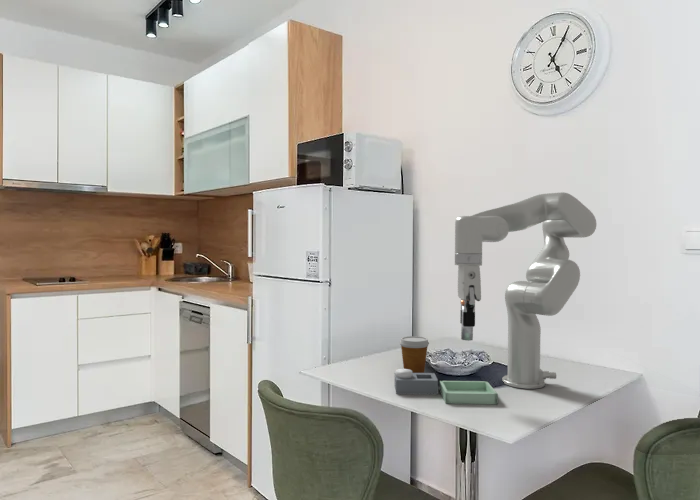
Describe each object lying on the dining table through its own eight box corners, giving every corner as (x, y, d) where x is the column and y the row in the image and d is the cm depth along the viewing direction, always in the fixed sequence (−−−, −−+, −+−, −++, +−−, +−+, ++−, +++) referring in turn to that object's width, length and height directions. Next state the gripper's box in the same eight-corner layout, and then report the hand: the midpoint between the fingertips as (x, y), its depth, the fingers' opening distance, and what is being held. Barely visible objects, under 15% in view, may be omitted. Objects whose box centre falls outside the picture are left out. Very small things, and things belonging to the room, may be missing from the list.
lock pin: (472, 338, 147) (473, 299, 146) (475, 341, 143) (476, 301, 142) (458, 337, 147) (459, 299, 146) (461, 340, 143) (462, 301, 142)
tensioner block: (434, 386, 155) (434, 367, 155) (437, 394, 147) (438, 375, 147) (394, 385, 156) (394, 367, 156) (396, 393, 148) (396, 374, 148)
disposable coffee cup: (428, 380, 162) (428, 342, 162) (397, 378, 164) (398, 341, 164) (429, 372, 171) (429, 336, 171) (401, 370, 173) (401, 335, 173)
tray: (487, 390, 151) (487, 381, 151) (497, 404, 139) (497, 393, 139) (439, 390, 151) (439, 380, 151) (445, 403, 139) (445, 393, 139)
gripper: (488, 261, 136) (487, 330, 136) (475, 258, 152) (474, 320, 153) (460, 261, 136) (459, 330, 136) (450, 258, 152) (449, 320, 153)
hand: (467, 324), depth 145 cm, fingers closed on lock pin, 3 cm apart
